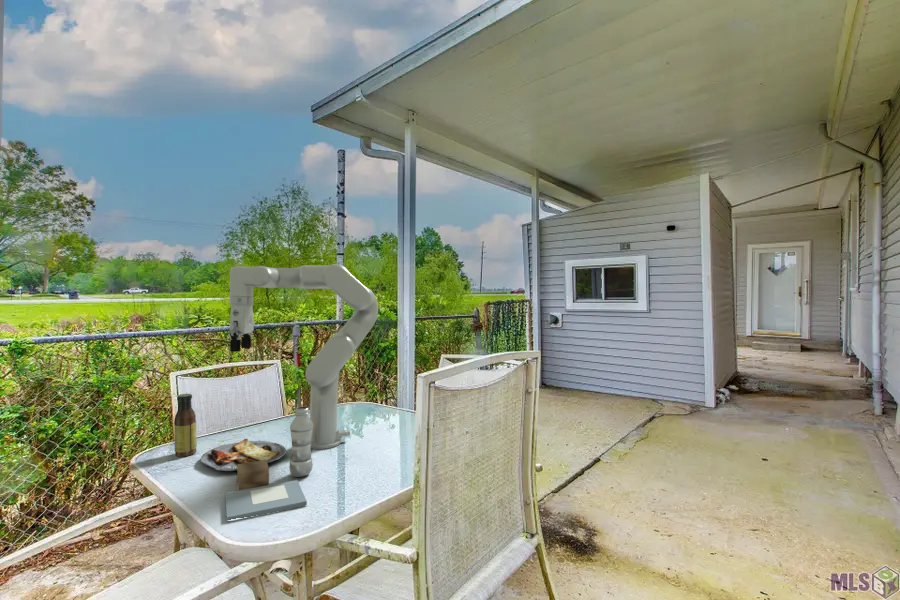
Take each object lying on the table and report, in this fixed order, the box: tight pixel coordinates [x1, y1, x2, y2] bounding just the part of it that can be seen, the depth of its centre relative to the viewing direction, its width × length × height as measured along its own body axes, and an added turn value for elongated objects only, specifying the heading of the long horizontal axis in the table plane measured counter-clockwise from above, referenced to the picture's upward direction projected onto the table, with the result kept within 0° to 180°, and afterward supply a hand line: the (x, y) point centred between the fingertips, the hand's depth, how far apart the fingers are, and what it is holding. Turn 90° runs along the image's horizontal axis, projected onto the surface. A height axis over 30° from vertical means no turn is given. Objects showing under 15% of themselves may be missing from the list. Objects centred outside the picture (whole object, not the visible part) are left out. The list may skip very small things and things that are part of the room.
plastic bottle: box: [288, 405, 314, 478], centre depth 127 cm, size 6×7×20 cm
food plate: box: [199, 438, 287, 472], centre depth 139 cm, size 25×23×4 cm
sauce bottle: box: [173, 393, 198, 458], centre depth 142 cm, size 7×6×20 cm
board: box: [224, 479, 308, 521], centre depth 110 cm, size 18×14×1 cm
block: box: [236, 460, 270, 491], centre depth 121 cm, size 8×8×5 cm
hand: (241, 349), depth 152 cm, fingers open, 9 cm apart
